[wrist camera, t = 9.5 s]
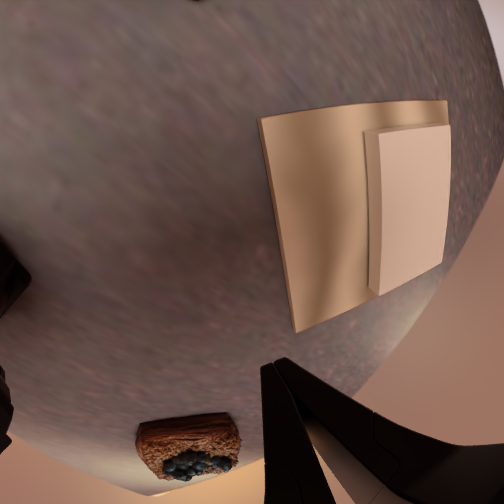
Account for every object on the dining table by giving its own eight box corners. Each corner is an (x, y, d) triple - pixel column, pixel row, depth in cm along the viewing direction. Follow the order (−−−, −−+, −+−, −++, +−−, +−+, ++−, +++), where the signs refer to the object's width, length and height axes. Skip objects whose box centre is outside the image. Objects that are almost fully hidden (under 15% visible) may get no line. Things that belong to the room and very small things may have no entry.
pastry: (233, 447, 34) (247, 482, 29) (146, 460, 31) (153, 497, 26) (235, 403, 30) (253, 446, 25) (125, 418, 26) (130, 464, 21)
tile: (378, 296, 25) (441, 262, 27) (378, 133, 18) (450, 125, 20) (366, 285, 27) (429, 254, 28) (361, 130, 20) (434, 122, 22)
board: (292, 327, 27) (296, 333, 26) (256, 118, 18) (260, 118, 17) (435, 259, 30) (440, 262, 30) (440, 99, 22) (446, 100, 21)
